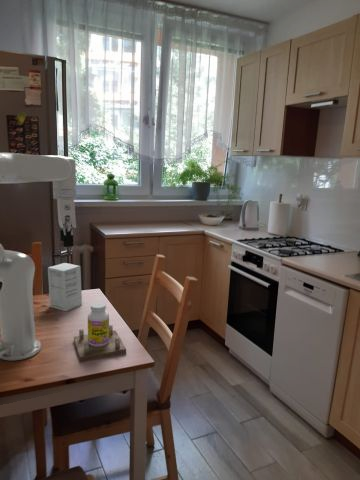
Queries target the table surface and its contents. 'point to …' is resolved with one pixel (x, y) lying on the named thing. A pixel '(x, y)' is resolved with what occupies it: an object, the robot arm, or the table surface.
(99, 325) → the supplement bottle
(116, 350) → the board
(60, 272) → the supplement box
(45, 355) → the table surface
